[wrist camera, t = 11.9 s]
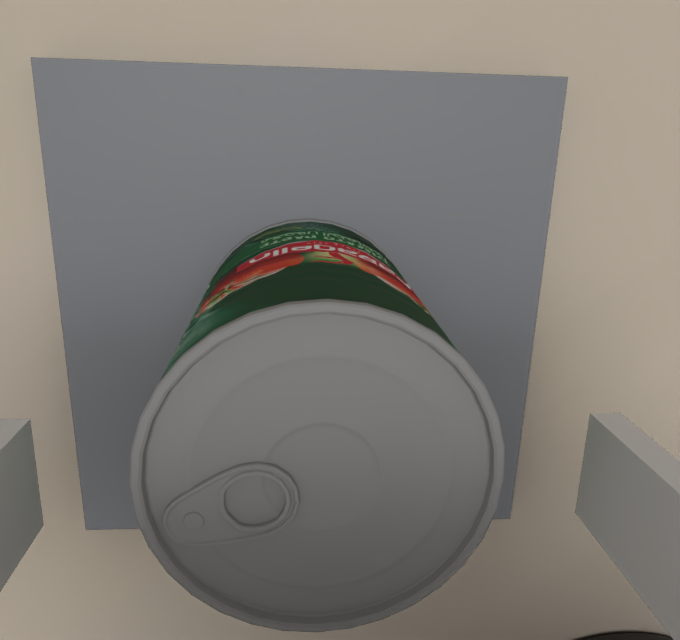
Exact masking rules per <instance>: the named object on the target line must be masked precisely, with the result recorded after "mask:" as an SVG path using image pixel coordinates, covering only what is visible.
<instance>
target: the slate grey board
mask: <svg viewBox="0 0 680 640" xmlns="http://www.w3.org/2000/svg"><path fill="white" fill-rule="evenodd" d="M31 65H32V73H33V82H34V90H35V99H36V107H37V116H38V125H39V133H40V142H41V150H42V159H43V167H44V176H45V184H46V193H47V202H48V210H49V219H50V227H51V236H52V244H53V253H54V262H55V270H56V279H57V287H58V296H59V304H60V313H61V321H62V330H63V339H64V347H65V356H66V364H67V373H68V381H69V390H70V399H71V407H72V416H73V424H74V433H75V441H76V450H77V459H78V467H79V476H80V484H81V493H82V501H83V510H84V518H85V527H86V530H100V529H137V528H140V526H139V524H138V522H137V519H136V517H135V512H134V507H133V501H132V496H131V491H130V486H129V482H130V457H131V448H132V445H133V441H134V437H135V434H136V430H137V426H138V423H139V419H140V416H141V414H142V412H143V410H144V408H145V406H146V404H147V402H148V401H149V399H150V397H151V395H152V393H153V391H154V389H155V388H156V386H157V384H158V383H159V381H160V380H161V378H162V376H163V374H164V372H165V371H166V368H167V366H168V364H169V362H170V360H171V359H172V356H173V354H174V352H175V350H176V349H177V347H178V344H179V342H180V341H181V339H182V337H183V334H184V332H185V331H186V329H187V327H188V325H189V323H190V321H191V319H192V317H193V315H194V313H195V311H196V309H197V307H198V305H199V303H200V301H201V299H202V297H203V295H204V293H205V291H206V289H207V287H208V283H209V281H210V279H211V278H212V276H213V274H214V272H215V270H216V268H217V266H218V265H219V264H220V262H221V261H222V260H223V259H224V258H225V256H226V255H227V254H228V253H229V252H230V250H231V249H232V248H234V247H235V246H236V245H237V244H239V243H240V242H241V241H242V240H244V239H245V238H246V237H247V236H249V235H251V234H253V233H255V232H257V231H259V230H261V229H263V228H265V227H267V226H269V225H273V224H276V223H280V222H284V221H287V220H297V219H318V220H326V221H332V222H335V223H338V224H341V225H344V226H347V227H350V228H353V229H354V230H356V231H358V232H360V233H361V234H363V235H365V236H367V237H368V238H370V239H371V240H372V241H373V242H375V243H376V244H377V245H378V246H379V247H380V248H381V249H382V250H384V251H385V252H386V254H387V255H388V256H389V258H390V259H391V260H392V262H393V263H394V264H395V266H396V267H397V268H398V270H399V272H400V274H401V275H402V276H403V278H404V279H405V281H406V282H407V283H408V285H409V286H410V287H411V289H412V290H413V291H414V293H415V294H416V295H417V297H418V298H419V299H420V301H421V302H422V303H423V305H424V306H425V307H426V309H427V310H428V311H429V313H430V314H431V315H432V317H433V318H434V319H435V321H436V322H437V323H438V325H439V326H440V327H441V329H442V330H443V331H444V333H445V334H446V336H447V337H448V338H449V340H450V341H451V342H452V344H453V345H454V346H455V348H456V349H457V350H458V352H459V353H460V354H462V355H463V356H464V357H465V359H466V360H467V361H468V363H469V364H470V365H471V367H472V368H473V369H474V371H475V372H476V373H477V375H478V376H479V377H480V379H481V380H482V381H483V383H484V385H485V387H486V389H487V391H488V393H489V396H490V398H491V400H492V402H493V405H494V407H495V409H496V411H497V414H498V416H499V421H500V426H501V431H502V436H503V442H504V447H505V456H504V481H503V485H502V489H501V493H500V497H499V501H498V505H497V509H496V512H495V514H494V516H493V518H492V519H510V516H511V509H512V501H513V493H514V486H515V478H516V470H517V463H518V455H519V447H520V440H521V432H522V425H523V417H524V409H525V402H526V394H527V386H528V379H529V371H530V363H531V356H532V348H533V340H534V333H535V325H536V318H537V310H538V302H539V295H540V287H541V279H542V272H543V264H544V256H545V249H546V241H547V234H548V226H549V218H550V211H551V203H552V195H553V188H554V180H555V172H556V165H557V157H558V150H559V142H560V134H561V127H562V119H563V111H564V104H565V96H566V88H567V81H568V77H553V76H526V75H498V74H471V73H444V72H417V71H389V70H362V69H335V68H307V67H280V66H253V65H226V64H198V63H171V62H144V61H117V60H89V59H62V58H35V57H31Z"/></svg>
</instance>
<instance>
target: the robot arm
mask: <svg viewBox="0 0 680 640" xmlns="http://www.w3.org/2000/svg"><path fill="white" fill-rule="evenodd" d="M575 513H576V514H577V515H578V516H579V518H580V519H581V520H582V522H583V523H584V524H585V526H586V527H587V528H588V529H589V531H590V532H591V533H592V535H593V536H594V537H595V539H596V540H597V541H598V542H599V544H600V545H601V546H602V548H603V549H604V550H605V551H606V553H607V554H608V555H609V557H610V558H611V559H612V561H613V562H614V563H615V564H616V566H617V567H618V568H619V570H620V571H621V572H622V574H623V575H624V576H625V577H626V579H627V580H628V581H629V583H630V584H631V585H632V587H633V588H634V589H635V590H636V592H637V593H638V594H639V596H640V597H641V598H642V599H643V601H644V602H645V603H646V605H647V606H648V607H649V609H650V610H651V611H652V612H653V614H654V615H655V616H656V618H657V619H658V620H659V622H660V623H661V624H662V625H663V627H664V628H665V629H666V631H667V632H668V633H669V635H670V636H671V637H672V638H669V637H665V636H660V635H654V634H644V633H621V634H611V635H603V636H598V637H593V638H589V639H585V640H680V461H679V460H677V459H676V458H675V457H674V456H672V455H671V454H670V453H669V452H668V451H666V450H665V449H664V448H663V447H661V446H660V445H659V444H658V443H657V442H655V441H654V440H653V439H652V438H650V437H649V436H648V435H647V434H646V433H644V432H643V431H642V430H641V429H639V428H638V427H637V426H636V425H635V424H633V423H632V422H631V421H630V420H628V419H627V418H626V417H625V416H624V415H622V414H621V413H590V417H589V424H588V431H587V437H586V444H585V450H584V457H583V464H582V470H581V477H580V483H579V490H578V497H577V503H576V510H575ZM42 526H43V517H42V509H41V501H40V493H39V485H38V477H37V469H36V462H35V454H34V446H33V438H32V430H31V422H30V419H0V591H1V590H2V588H3V587H4V585H5V584H6V582H7V580H8V579H9V577H10V576H11V574H12V573H13V571H14V570H15V568H16V567H17V565H18V564H19V562H20V560H21V559H22V557H23V556H24V554H25V553H26V551H27V550H28V548H29V547H30V545H31V543H32V542H33V540H34V539H35V537H36V536H37V534H38V533H39V531H40V530H41V528H42Z"/></svg>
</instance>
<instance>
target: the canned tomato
mask: <svg viewBox="0 0 680 640" xmlns="http://www.w3.org/2000/svg"><path fill="white" fill-rule="evenodd" d="M504 456H505V447H504V442H503V436H502V431H501V426H500V421H499V416H498V414H497V411H496V409H495V407H494V405H493V402H492V400H491V398H490V396H489V393H488V391H487V389H486V387H485V385H484V383H483V381H482V380H481V379H480V377H479V376H478V375H477V373H476V372H475V371H474V369H473V368H472V367H471V365H470V364H469V363H468V361H467V360H466V359H465V357H464V356H463V355H462V354H460V353H459V352H458V350H457V349H456V348H455V346H454V345H453V344H452V342H451V341H450V340H449V338H448V337H447V336H446V334H445V333H444V331H443V330H442V329H441V327H440V326H439V325H438V323H437V322H436V321H435V319H434V318H433V317H432V315H431V314H430V313H429V311H428V310H427V309H426V307H425V306H424V305H423V303H422V302H421V301H420V299H419V298H418V297H417V295H416V294H415V293H414V291H413V290H412V289H411V287H410V286H409V285H408V283H407V282H406V281H405V279H404V278H403V276H402V275H401V274H400V272H399V270H398V268H397V267H396V266H395V264H394V263H393V262H392V260H391V259H390V258H389V256H388V255H387V254H386V252H385V251H384V250H382V249H381V248H380V247H379V246H378V245H377V244H376V243H375V242H373V241H372V240H371V239H370V238H368V237H367V236H365V235H363V234H361V233H360V232H358V231H356V230H354V229H353V228H350V227H347V226H344V225H341V224H338V223H335V222H332V221H326V220H318V219H297V220H287V221H284V222H280V223H276V224H273V225H269V226H267V227H265V228H263V229H261V230H259V231H257V232H255V233H253V234H251V235H249V236H247V237H246V238H245V239H244V240H242V241H241V242H240V243H239V244H237V245H236V246H235V247H234V248H232V249H231V250H230V252H229V253H228V254H227V255H226V256H225V258H224V259H223V260H222V261H221V262H220V264H219V265H218V266H217V268H216V270H215V272H214V274H213V276H212V278H211V279H210V281H209V283H208V287H207V289H206V291H205V293H204V295H203V297H202V299H201V301H200V303H199V305H198V307H197V309H196V311H195V313H194V315H193V317H192V319H191V321H190V323H189V325H188V327H187V329H186V331H185V332H184V334H183V337H182V339H181V341H180V342H179V344H178V347H177V349H176V350H175V352H174V354H173V356H172V359H171V360H170V362H169V364H168V366H167V368H166V371H165V372H164V374H163V376H162V378H161V380H160V381H159V383H158V384H157V386H156V388H155V389H154V391H153V393H152V395H151V397H150V399H149V401H148V402H147V404H146V406H145V408H144V410H143V412H142V414H141V416H140V419H139V423H138V426H137V430H136V434H135V437H134V441H133V445H132V448H131V457H130V482H129V486H130V491H131V496H132V501H133V507H134V512H135V517H136V519H137V522H138V524H139V526H140V529H141V531H142V533H143V535H144V538H145V540H146V542H147V544H148V547H149V548H150V549H151V551H152V552H153V554H154V555H155V556H156V558H157V559H158V560H159V562H160V563H161V565H162V566H163V567H164V569H165V570H166V571H167V573H168V574H169V575H170V576H172V577H173V578H174V579H175V580H176V581H177V582H178V583H179V584H180V585H181V586H183V587H184V588H185V589H186V590H187V591H188V592H189V593H190V594H191V595H193V596H194V597H196V598H198V599H199V600H201V601H203V602H204V603H206V604H208V605H209V606H211V607H212V608H214V609H216V610H217V611H219V612H221V613H224V614H226V615H229V616H231V617H234V618H237V619H239V620H242V621H244V622H247V623H250V624H253V625H258V626H263V627H268V628H273V629H277V630H282V631H301V632H323V631H331V630H340V629H348V628H353V627H357V626H360V625H364V624H367V623H371V622H374V621H378V620H382V619H384V618H386V617H389V616H391V615H393V614H395V613H397V612H399V611H402V610H404V609H406V608H408V607H410V606H413V605H414V604H415V603H417V602H418V601H420V600H421V599H423V598H424V597H426V596H427V595H429V594H430V593H432V592H433V591H435V590H436V589H438V588H439V587H441V586H442V585H443V584H444V583H445V582H446V581H447V580H448V579H449V578H450V577H451V576H452V575H453V574H454V573H455V572H456V571H457V570H459V569H460V568H461V567H462V566H463V565H464V564H465V562H466V561H467V559H468V558H469V557H470V555H471V554H472V553H473V551H474V550H475V549H476V547H477V546H478V544H479V543H480V542H481V540H482V539H483V537H484V535H485V533H486V531H487V529H488V527H489V524H490V522H491V520H492V518H493V516H494V514H495V512H496V509H497V505H498V501H499V497H500V493H501V489H502V485H503V481H504Z"/></svg>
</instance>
